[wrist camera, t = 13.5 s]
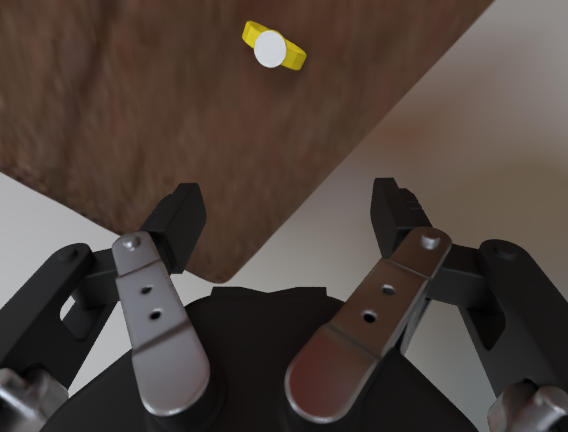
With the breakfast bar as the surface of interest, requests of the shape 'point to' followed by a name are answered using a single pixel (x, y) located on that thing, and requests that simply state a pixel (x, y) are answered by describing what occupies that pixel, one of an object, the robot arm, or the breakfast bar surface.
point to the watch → (272, 47)
